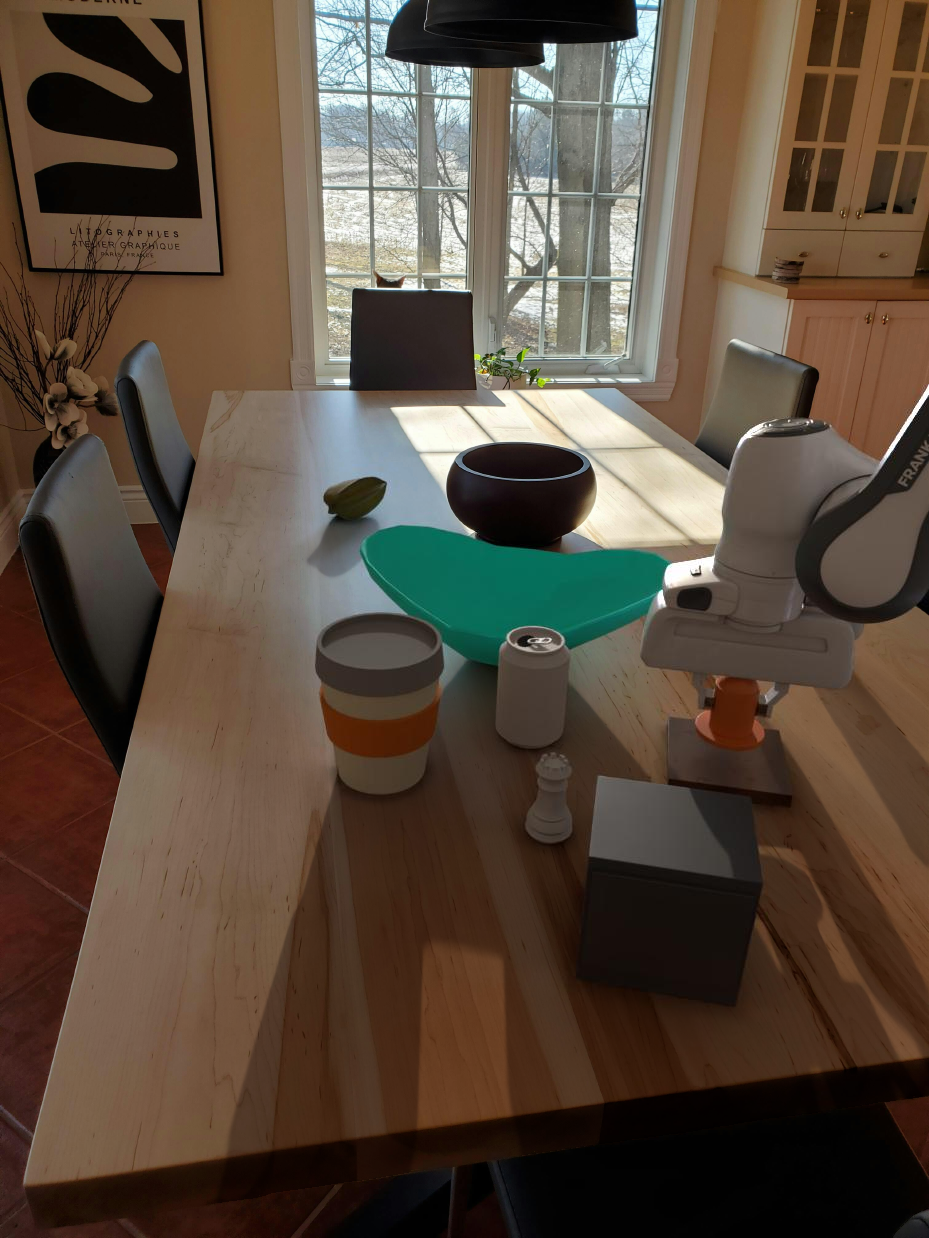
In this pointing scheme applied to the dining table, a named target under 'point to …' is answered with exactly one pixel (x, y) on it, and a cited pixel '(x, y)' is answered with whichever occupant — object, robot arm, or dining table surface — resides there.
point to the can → (532, 687)
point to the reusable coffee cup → (380, 697)
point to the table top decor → (509, 587)
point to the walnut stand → (727, 765)
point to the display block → (669, 890)
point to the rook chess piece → (550, 802)
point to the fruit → (355, 497)
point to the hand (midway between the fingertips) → (732, 710)
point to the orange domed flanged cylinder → (732, 716)
